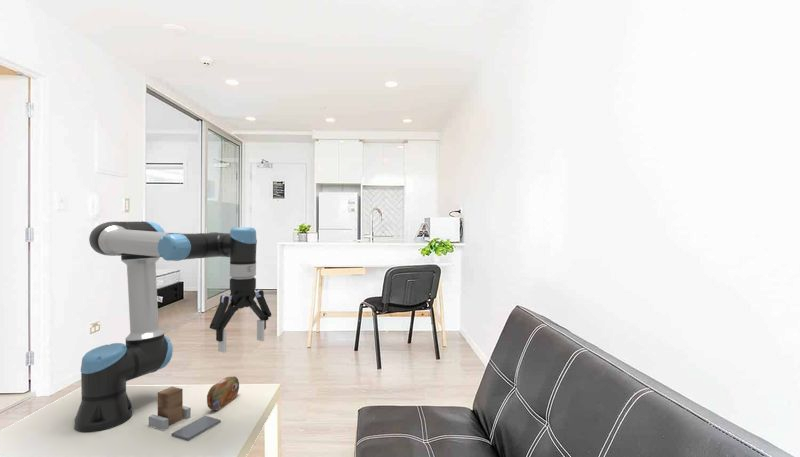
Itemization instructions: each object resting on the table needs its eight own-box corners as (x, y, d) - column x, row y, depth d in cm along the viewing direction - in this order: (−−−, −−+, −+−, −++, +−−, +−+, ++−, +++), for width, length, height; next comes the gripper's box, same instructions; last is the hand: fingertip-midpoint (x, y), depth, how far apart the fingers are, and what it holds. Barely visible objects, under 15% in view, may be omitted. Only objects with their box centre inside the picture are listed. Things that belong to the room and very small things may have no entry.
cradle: (148, 425, 125) (148, 416, 125) (175, 412, 134) (175, 403, 134) (163, 430, 122) (163, 420, 122) (190, 416, 131) (190, 407, 131)
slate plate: (171, 435, 119) (171, 433, 119) (204, 417, 130) (204, 415, 130) (188, 440, 117) (188, 438, 117) (220, 422, 128) (220, 419, 128)
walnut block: (157, 423, 127) (157, 392, 127) (171, 416, 131) (171, 386, 131) (168, 426, 125) (168, 395, 125) (182, 419, 130) (182, 388, 129)
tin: (213, 414, 133) (213, 389, 133) (205, 413, 134) (205, 388, 134) (239, 395, 148) (240, 373, 148) (232, 394, 148) (232, 372, 148)
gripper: (212, 283, 109) (211, 359, 110) (283, 274, 131) (282, 338, 131) (197, 280, 113) (196, 354, 114) (267, 272, 135) (266, 334, 135)
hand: (242, 345), depth 122 cm, fingers open, 13 cm apart
